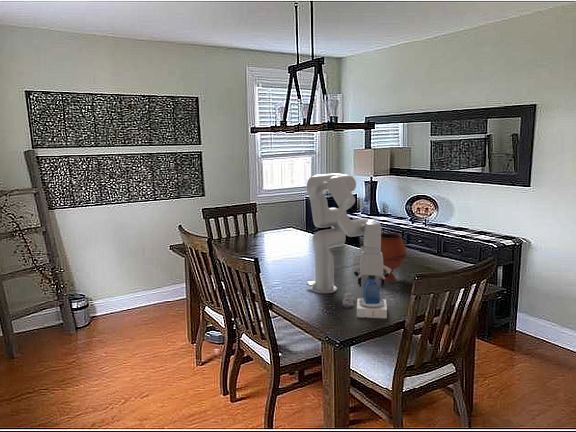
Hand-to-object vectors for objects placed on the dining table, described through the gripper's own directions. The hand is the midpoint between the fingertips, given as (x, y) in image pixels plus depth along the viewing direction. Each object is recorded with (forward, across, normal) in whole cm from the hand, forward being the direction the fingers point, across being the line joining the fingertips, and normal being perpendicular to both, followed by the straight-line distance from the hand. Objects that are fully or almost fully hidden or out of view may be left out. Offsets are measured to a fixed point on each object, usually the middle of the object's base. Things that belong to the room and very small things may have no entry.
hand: (371, 286), depth 211 cm
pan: (+8, 0, -1) cm, 8 cm away
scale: (+12, 0, -1) cm, 12 cm away
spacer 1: (+13, -10, +13) cm, 21 cm away
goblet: (+13, +10, +49) cm, 52 cm away
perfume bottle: (+7, 0, 0) cm, 7 cm away
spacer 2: (+12, -10, +6) cm, 18 cm away
